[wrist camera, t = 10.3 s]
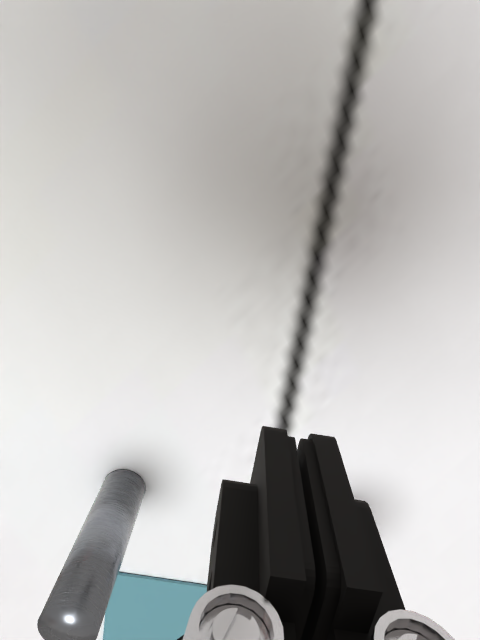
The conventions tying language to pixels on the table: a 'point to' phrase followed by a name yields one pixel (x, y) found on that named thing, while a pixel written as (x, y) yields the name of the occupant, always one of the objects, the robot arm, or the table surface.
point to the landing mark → (149, 608)
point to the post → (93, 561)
